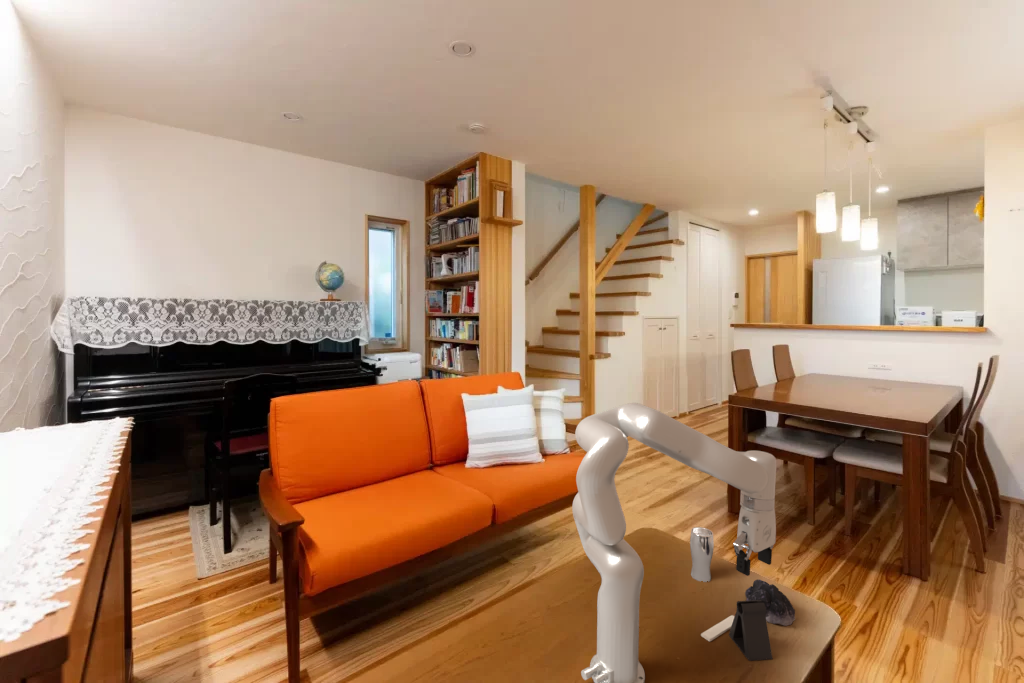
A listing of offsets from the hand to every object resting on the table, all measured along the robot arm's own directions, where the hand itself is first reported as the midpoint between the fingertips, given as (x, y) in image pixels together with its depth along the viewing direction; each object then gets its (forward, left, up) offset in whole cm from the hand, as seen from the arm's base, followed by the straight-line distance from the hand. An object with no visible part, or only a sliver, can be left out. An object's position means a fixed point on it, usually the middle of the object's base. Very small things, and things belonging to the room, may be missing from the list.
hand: (753, 567), depth 113 cm
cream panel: (-1, +8, -21) cm, 22 cm away
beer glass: (+16, +26, -21) cm, 37 cm away
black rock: (+18, +5, -21) cm, 28 cm away
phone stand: (-1, 0, -21) cm, 21 cm away
